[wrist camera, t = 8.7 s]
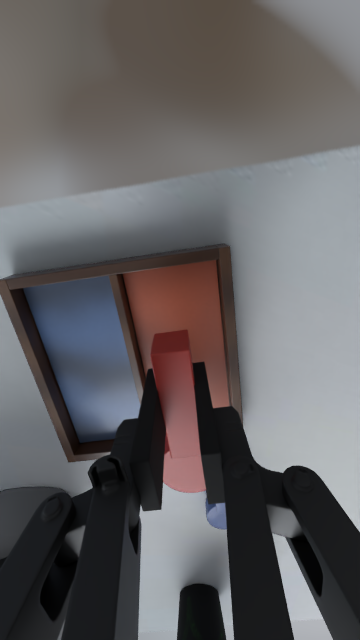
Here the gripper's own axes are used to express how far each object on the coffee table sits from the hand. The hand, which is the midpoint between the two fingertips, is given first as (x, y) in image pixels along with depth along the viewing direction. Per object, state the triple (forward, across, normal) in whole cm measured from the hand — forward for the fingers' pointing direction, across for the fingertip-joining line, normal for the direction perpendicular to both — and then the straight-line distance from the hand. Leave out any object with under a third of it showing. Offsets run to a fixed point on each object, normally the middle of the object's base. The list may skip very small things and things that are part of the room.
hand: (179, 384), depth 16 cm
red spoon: (0, 0, -2) cm, 3 cm away
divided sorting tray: (+7, -4, -2) cm, 8 cm away
